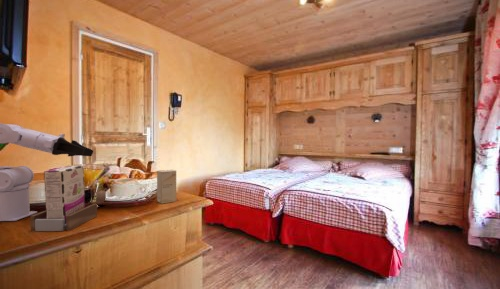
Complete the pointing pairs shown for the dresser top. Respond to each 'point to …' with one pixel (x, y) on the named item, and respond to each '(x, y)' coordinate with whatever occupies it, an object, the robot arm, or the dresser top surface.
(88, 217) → the shelf lane
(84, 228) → the dresser top surface
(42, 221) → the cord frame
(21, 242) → the dresser top surface
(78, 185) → the candy bar box
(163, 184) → the skincare box
